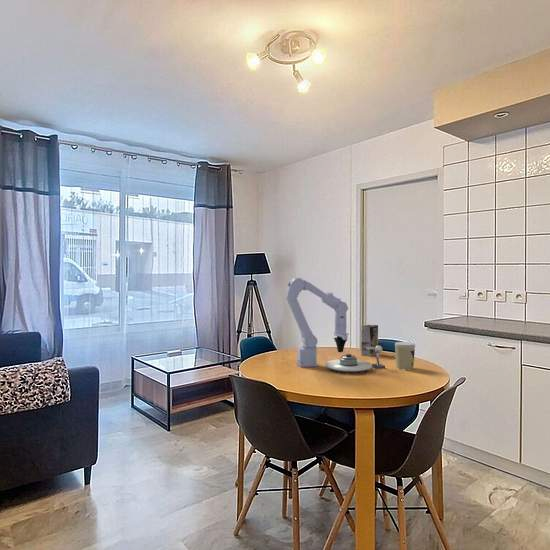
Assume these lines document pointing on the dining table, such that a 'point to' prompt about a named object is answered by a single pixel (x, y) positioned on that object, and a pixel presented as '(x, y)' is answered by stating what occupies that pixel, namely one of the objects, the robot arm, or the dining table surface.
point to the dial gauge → (378, 350)
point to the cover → (348, 360)
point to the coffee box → (369, 339)
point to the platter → (359, 367)
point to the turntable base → (349, 371)
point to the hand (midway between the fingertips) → (340, 352)
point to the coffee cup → (404, 355)
